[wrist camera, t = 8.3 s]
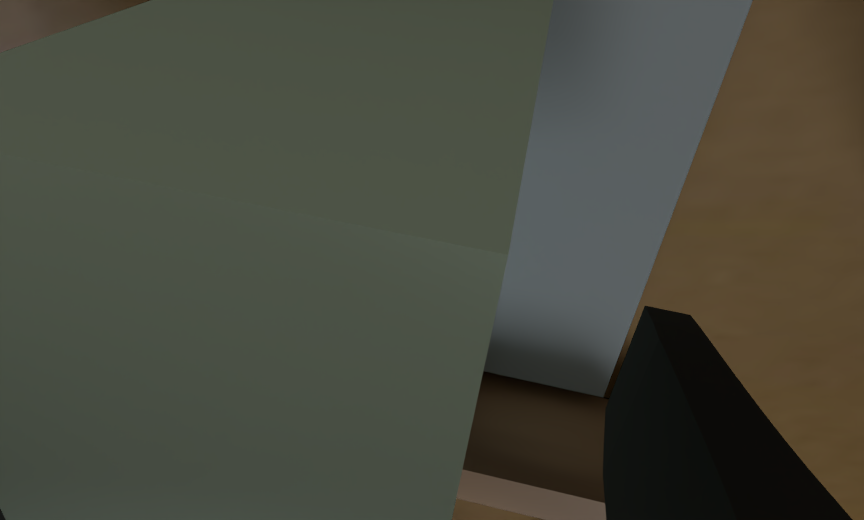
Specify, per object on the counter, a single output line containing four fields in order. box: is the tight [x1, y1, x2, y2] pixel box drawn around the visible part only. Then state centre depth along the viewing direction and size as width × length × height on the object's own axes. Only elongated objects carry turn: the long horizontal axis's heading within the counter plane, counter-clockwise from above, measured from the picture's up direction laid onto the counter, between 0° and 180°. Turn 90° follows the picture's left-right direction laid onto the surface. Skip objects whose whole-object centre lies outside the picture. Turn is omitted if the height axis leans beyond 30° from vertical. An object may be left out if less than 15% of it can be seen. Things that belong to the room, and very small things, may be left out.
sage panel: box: [0, 0, 553, 520], centre depth 9 cm, size 9×3×9 cm, turn 174°
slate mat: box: [484, 0, 753, 397], centre depth 13 cm, size 9×9×1 cm
